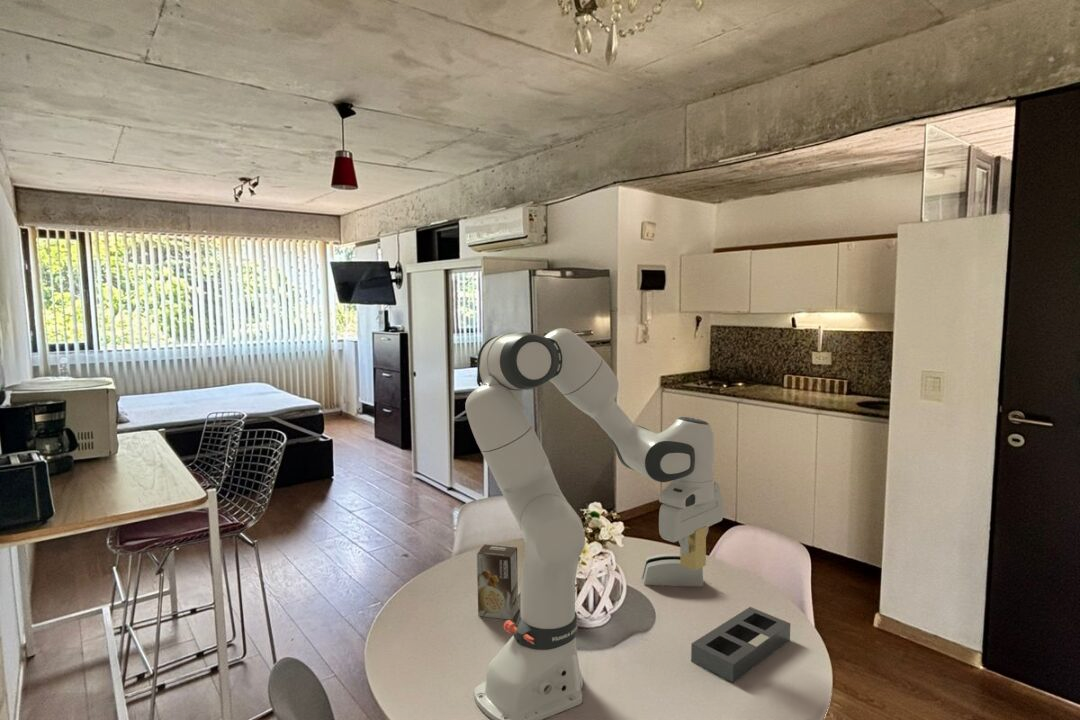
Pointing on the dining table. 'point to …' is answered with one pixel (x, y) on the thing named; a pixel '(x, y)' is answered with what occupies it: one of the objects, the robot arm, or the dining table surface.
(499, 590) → the grey food box
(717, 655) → the grey peg holder
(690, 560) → the brass peg
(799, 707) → the dining table surface
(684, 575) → the grey rounded block
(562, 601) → the robot arm
